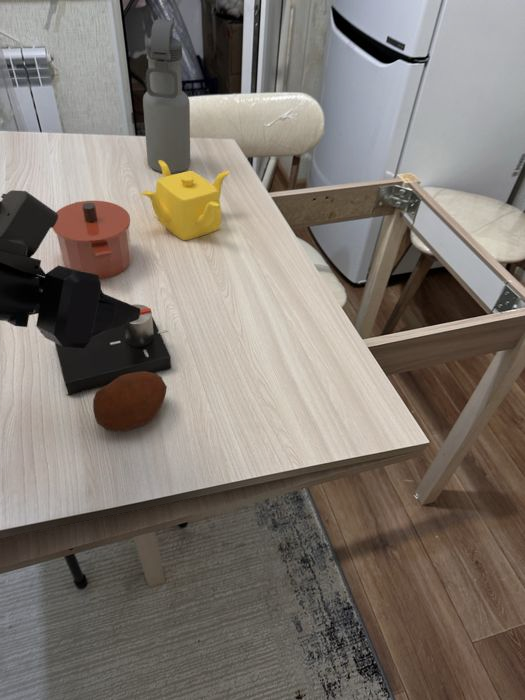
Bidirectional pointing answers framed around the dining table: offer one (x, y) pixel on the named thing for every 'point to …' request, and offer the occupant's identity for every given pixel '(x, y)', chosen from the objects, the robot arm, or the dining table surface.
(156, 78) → the water bottle
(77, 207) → the pot lid
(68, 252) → the pot
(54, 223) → the robot arm
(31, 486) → the dining table surface
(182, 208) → the teapot
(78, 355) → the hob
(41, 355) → the dining table surface
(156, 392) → the potato
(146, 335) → the hob knob
